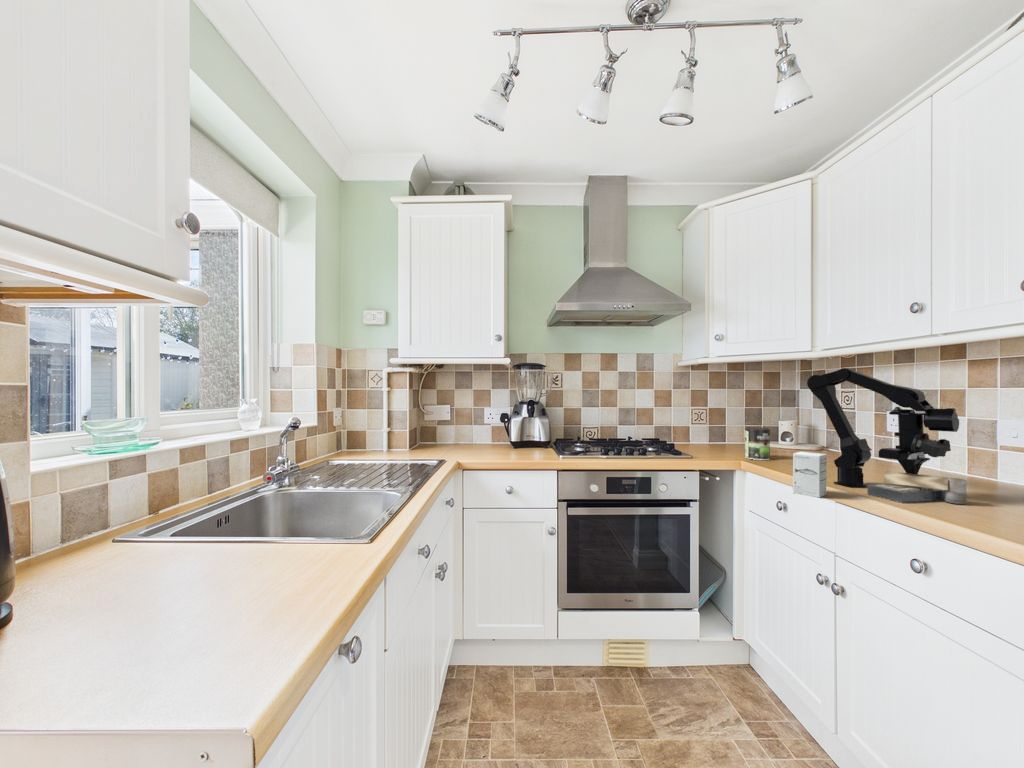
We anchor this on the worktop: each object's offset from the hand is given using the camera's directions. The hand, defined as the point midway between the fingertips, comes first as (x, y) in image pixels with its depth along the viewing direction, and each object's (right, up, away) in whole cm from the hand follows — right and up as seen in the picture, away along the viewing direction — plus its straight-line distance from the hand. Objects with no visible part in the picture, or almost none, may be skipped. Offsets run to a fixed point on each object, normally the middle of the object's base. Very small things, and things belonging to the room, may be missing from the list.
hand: (912, 480), depth 136 cm
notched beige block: (-1, -4, -5) cm, 6 cm away
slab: (-3, -5, -2) cm, 6 cm away
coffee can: (-10, -5, +69) cm, 69 cm away
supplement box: (-31, -5, +1) cm, 31 cm away
